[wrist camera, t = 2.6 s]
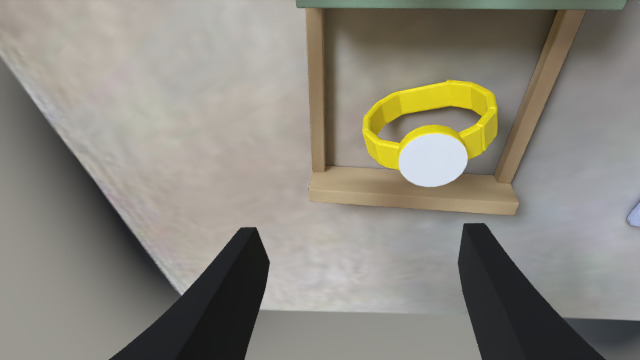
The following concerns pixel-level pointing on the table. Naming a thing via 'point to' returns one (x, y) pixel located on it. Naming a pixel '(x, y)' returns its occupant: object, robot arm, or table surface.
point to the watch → (432, 132)
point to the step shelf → (467, 188)
